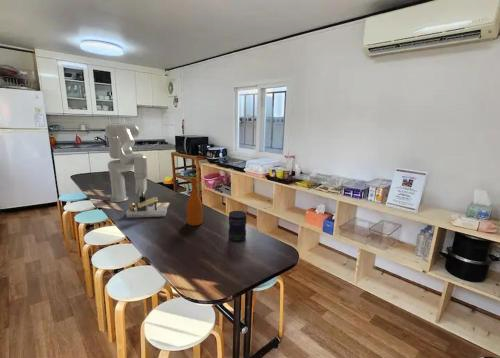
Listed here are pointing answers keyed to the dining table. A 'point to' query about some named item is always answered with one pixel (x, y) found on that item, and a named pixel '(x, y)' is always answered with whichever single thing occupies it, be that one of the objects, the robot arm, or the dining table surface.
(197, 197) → the wine bottle
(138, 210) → the dark grey block
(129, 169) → the robot arm
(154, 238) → the dining table surface
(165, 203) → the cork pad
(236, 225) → the black camera lens
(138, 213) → the plane body
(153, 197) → the latch lever
